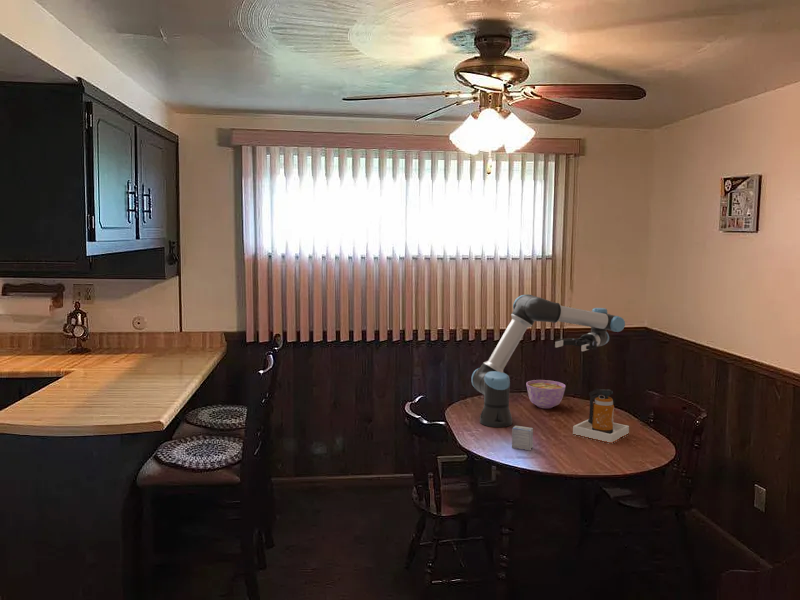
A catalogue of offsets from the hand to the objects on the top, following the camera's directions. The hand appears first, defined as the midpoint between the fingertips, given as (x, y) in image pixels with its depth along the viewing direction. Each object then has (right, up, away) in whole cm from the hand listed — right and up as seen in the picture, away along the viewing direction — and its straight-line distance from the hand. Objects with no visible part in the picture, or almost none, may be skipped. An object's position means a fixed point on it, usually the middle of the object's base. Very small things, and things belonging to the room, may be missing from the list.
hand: (568, 346), depth 313 cm
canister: (+10, -37, -17) cm, 42 cm away
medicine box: (-29, -40, -36) cm, 61 cm away
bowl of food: (-5, -33, +29) cm, 44 cm away
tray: (+10, -38, -17) cm, 43 cm away
